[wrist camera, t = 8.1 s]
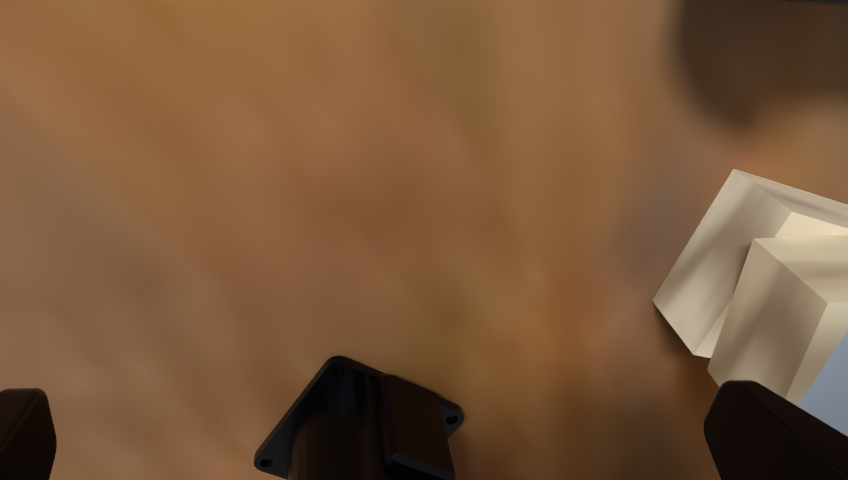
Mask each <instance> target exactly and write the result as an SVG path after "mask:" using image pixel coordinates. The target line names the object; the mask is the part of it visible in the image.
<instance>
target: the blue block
mask: <svg viewBox="0 0 848 480" xmlns="http://www.w3.org/2000/svg"><path fill="white" fill-rule="evenodd" d="M798 407H800V408H801V409H803V410H805V411H806V412H808V413H810V414H811V415H813V416H815V417H816V418H818V419H819V420H821V421H823V422H824V423H826V424H828V425H829V426H831V427H833V428H834V429H836V430H838V431H839V432H841V433H843V434H844V435H846V436H848V331H847V333H846V334H845V336H844V337H843V339H842V340H841V342H840V343H839V345H838V346H837V348H836V349H835V351H834V352H833V354H832V355H831V357H830V359H829V360H828V362H827V363H826V365H825V366H824V368H823V369H822V371H821V372H820V374H819V375H818V377H817V378H816V380H815V381H814V383H813V384H812V386H811V388H810V389H809V391H808V392H807V394H806V395H805V397H804V398H803V400H802V401H801V403H800V404H799V406H798Z"/></svg>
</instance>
